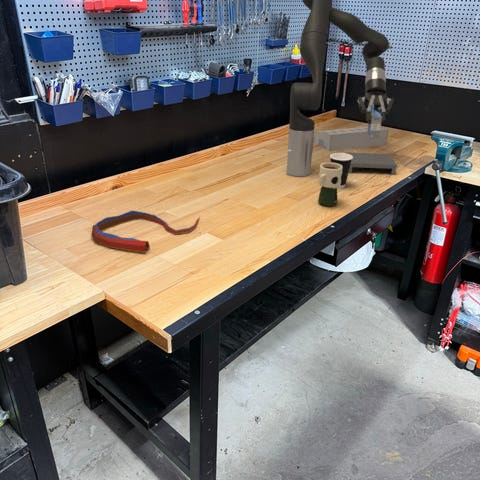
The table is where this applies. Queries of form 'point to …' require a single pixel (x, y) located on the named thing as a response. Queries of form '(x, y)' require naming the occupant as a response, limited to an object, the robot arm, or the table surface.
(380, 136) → the warehouse
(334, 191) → the character mug
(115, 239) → the red curved tail
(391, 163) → the brushed metal plate
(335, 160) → the dixie cup
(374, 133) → the label tape box
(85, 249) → the table surface
